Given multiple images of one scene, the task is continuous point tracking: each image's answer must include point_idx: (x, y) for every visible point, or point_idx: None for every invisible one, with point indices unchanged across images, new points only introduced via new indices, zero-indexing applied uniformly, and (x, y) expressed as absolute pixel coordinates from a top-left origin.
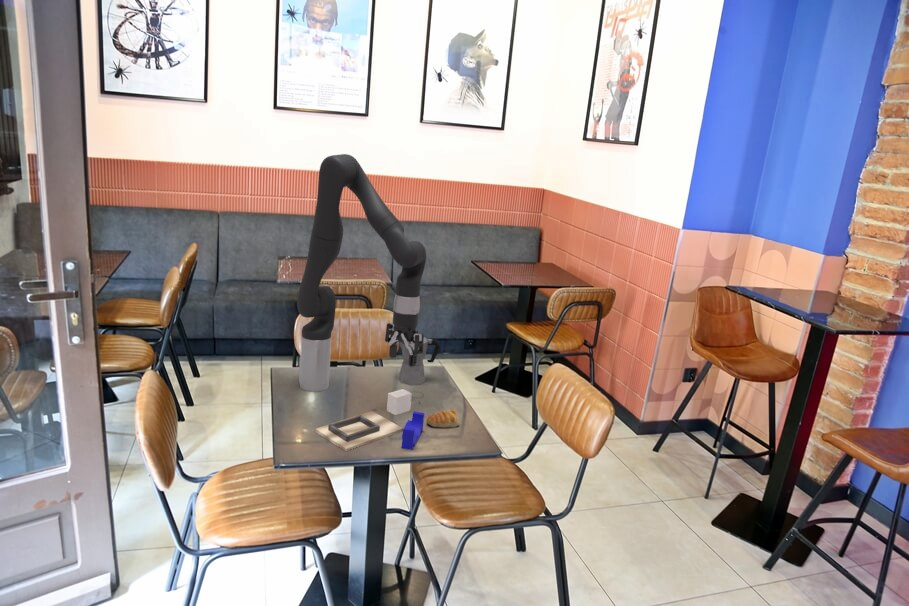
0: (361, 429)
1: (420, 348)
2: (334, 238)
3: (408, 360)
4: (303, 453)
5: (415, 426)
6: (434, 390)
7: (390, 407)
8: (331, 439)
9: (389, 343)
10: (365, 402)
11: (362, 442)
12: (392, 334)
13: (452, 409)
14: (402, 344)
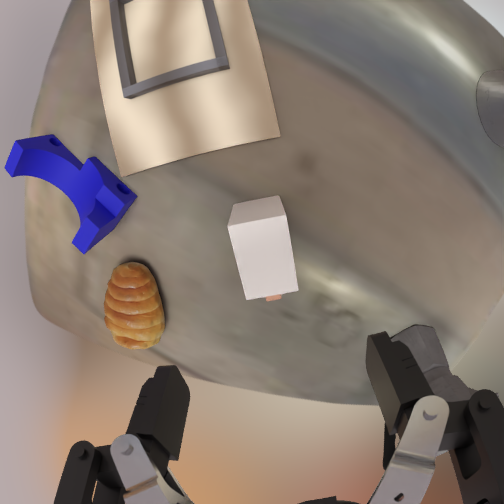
0: (162, 49)
1: (107, 495)
2: None
3: (430, 381)
4: None
5: (87, 207)
6: (333, 373)
7: (261, 203)
8: None
9: (436, 410)
10: (370, 166)
11: (94, 37)
12: (469, 472)
13: (142, 347)
14: None
